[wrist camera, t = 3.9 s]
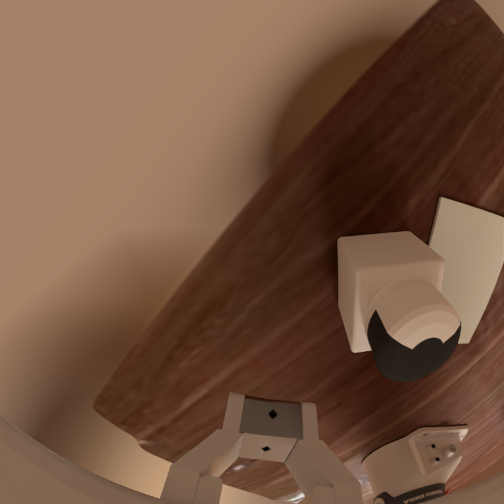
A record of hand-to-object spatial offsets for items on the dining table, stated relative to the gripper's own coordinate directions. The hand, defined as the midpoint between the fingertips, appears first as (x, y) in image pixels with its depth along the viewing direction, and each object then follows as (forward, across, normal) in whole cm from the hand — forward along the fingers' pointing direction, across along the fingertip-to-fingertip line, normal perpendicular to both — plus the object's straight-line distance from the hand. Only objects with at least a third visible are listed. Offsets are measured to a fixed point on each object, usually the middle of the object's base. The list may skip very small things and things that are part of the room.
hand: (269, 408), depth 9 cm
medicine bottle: (+17, -9, +1) cm, 19 cm away
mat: (+17, -20, 0) cm, 26 cm away
